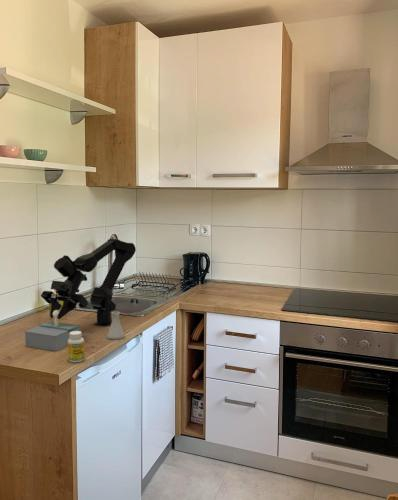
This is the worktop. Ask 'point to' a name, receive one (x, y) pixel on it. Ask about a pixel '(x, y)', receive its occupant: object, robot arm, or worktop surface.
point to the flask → (115, 328)
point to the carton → (48, 338)
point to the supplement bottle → (76, 347)
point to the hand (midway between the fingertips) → (54, 318)
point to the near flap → (57, 324)
